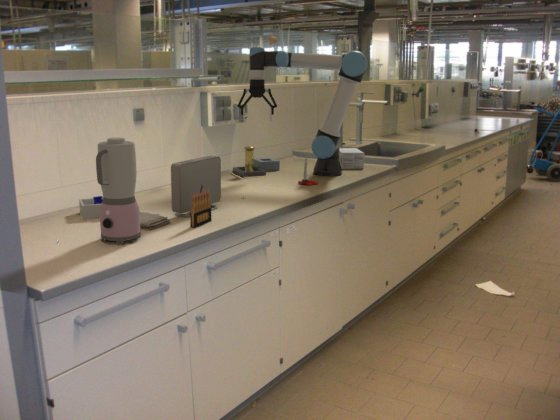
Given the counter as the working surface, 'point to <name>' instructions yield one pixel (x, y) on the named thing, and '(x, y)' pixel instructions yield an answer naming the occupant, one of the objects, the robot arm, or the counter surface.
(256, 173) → the tray
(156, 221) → the washcloth
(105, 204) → the blender
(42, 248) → the counter surface
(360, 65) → the robot arm
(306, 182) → the red base upright rod
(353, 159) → the supplement box
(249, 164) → the amber glass vase
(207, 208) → the ammunition clip
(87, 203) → the box
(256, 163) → the block
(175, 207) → the network device
